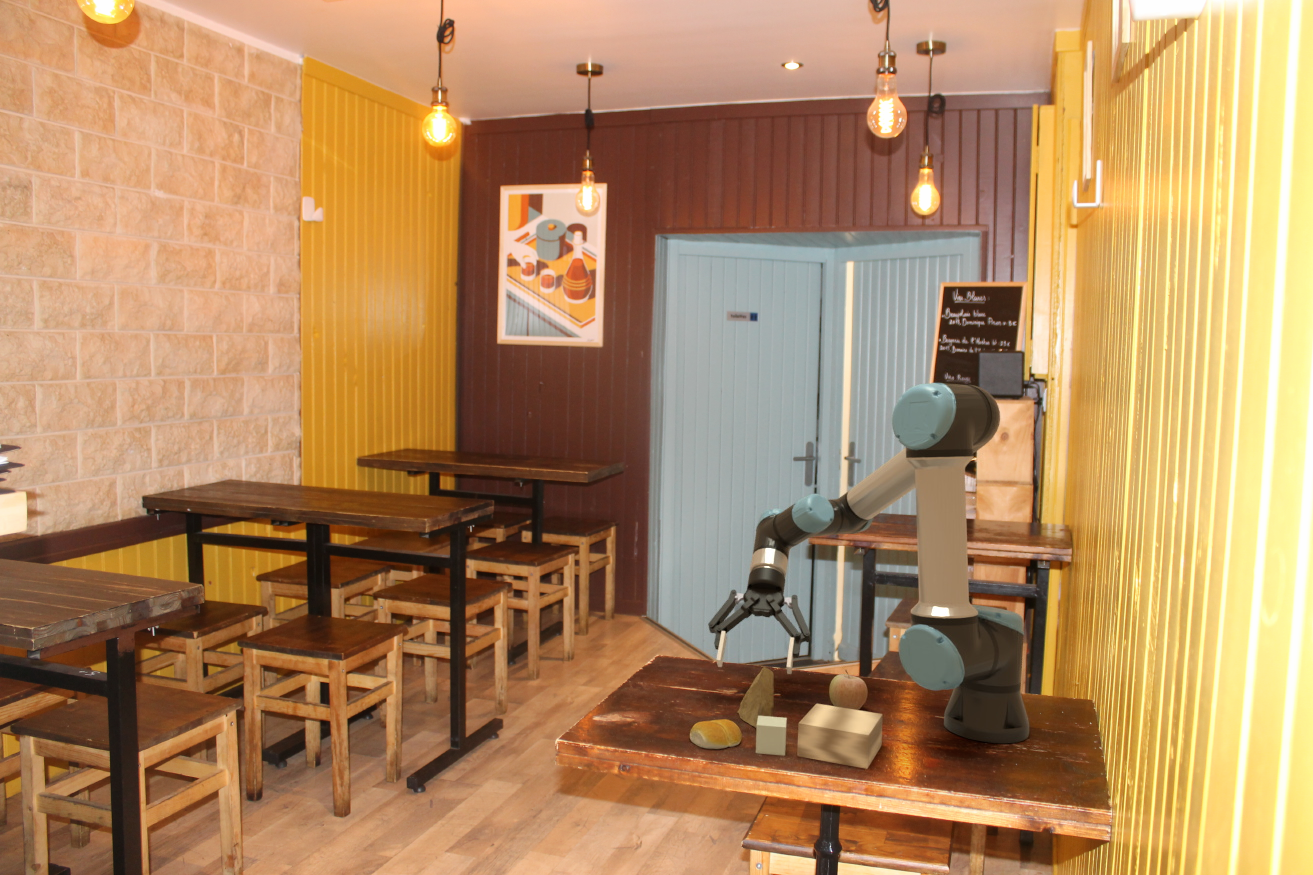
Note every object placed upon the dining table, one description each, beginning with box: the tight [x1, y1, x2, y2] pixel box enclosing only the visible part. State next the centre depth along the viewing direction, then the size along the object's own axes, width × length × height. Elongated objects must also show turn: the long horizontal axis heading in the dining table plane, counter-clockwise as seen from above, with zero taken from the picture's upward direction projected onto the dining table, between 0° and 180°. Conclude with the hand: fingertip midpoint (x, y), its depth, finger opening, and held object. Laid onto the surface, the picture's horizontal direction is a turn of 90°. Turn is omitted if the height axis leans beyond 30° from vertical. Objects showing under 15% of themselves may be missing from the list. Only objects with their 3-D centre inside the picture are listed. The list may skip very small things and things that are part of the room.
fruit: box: [828, 668, 869, 710], centre depth 191 cm, size 8×7×8 cm
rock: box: [736, 666, 775, 730], centre depth 182 cm, size 11×9×10 cm
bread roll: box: [689, 718, 742, 750], centre depth 172 cm, size 8×9×4 cm
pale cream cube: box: [755, 716, 788, 756], centre depth 169 cm, size 5×5×5 cm
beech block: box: [796, 703, 884, 770], centre depth 169 cm, size 12×12×6 cm
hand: (753, 667), depth 187 cm, fingers open, 13 cm apart
